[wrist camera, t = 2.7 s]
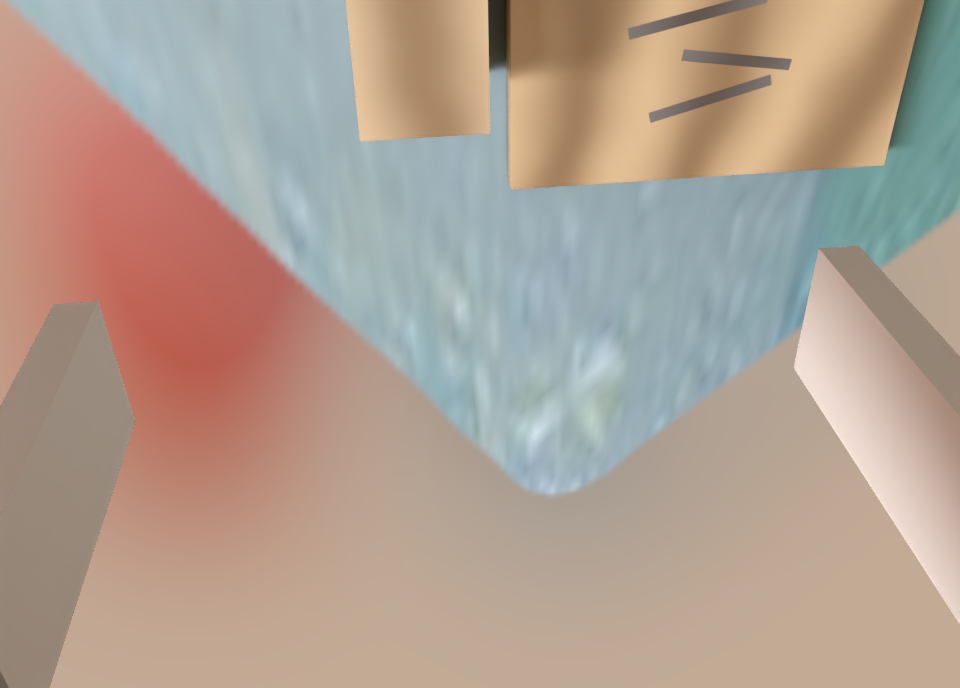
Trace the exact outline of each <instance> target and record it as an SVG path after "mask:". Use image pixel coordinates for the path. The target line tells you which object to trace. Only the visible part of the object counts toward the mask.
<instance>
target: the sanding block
mask: <svg viewBox="0 0 960 688" xmlns="http://www.w3.org/2000/svg"><path fill="white" fill-rule="evenodd" d="M346 10H347V19H348V29H349V39H350V49H351V58H352V68H353V78H354V88H355V97H356V107H357V117H358V126H359V136H360V141H373V140H390V139H407V138H423V137H440V136H457V135H473V134H490V96H489V36H488V0H346Z"/></svg>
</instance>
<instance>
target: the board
mask: <svg viewBox="0 0 960 688" xmlns="http://www.w3.org/2000/svg"><path fill="white" fill-rule="evenodd" d="M923 4H924V0H506V49H507V177H508V180H509V183H510V187H511V189H525V188H541V187H556V186H571V185H587V184H602V183H617V182H633V181H648V180H663V179H679V178H694V177H709V176H725V175H740V174H755V173H771V172H786V171H801V170H817V169H832V168H847V167H863V166H878V165H884V163H885V159H886V155H887V150H888V146H889V142H890V138H891V134H892V130H893V126H894V122H895V118H896V114H897V110H898V106H899V102H900V97H901V93H902V89H903V85H904V81H905V77H906V73H907V69H908V65H909V61H910V57H911V53H912V49H913V45H914V40H915V36H916V32H917V28H918V24H919V20H920V16H921V12H922V8H923Z"/></svg>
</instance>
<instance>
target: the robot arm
mask: <svg viewBox="0 0 960 688" xmlns="http://www.w3.org/2000/svg"><path fill="white" fill-rule="evenodd" d="M794 369H795V370H796V372H797V374H798V375H799V377H800V378H801V380H802V381H803V383H804V384H805V386H806V387H807V389H808V390H809V392H810V394H811V395H812V397H813V398H814V400H815V401H816V403H817V404H818V406H819V408H820V409H821V410H822V412H823V414H824V415H825V417H826V418H827V420H828V421H829V423H830V425H831V426H832V428H833V429H834V431H835V432H836V434H837V435H838V437H839V438H840V440H841V442H842V443H843V445H844V446H845V448H846V449H847V451H848V452H849V454H850V455H851V457H852V459H853V460H854V462H855V463H856V465H857V466H858V468H859V469H860V471H861V472H862V474H863V475H864V477H865V479H866V480H867V482H868V483H869V485H870V486H871V488H872V489H873V491H874V492H875V494H876V495H877V497H878V498H879V500H880V502H881V503H882V505H883V506H884V508H885V509H886V511H887V512H888V514H889V516H890V517H891V519H892V520H893V522H894V523H895V525H896V527H897V528H898V530H899V531H900V533H901V534H902V535H903V537H904V539H905V540H906V542H907V544H908V545H909V547H910V548H911V550H912V551H913V553H914V554H915V556H916V557H917V559H918V561H919V562H920V564H921V565H922V567H923V568H924V570H925V571H926V573H927V574H928V576H929V577H930V579H931V581H932V582H933V584H934V585H935V587H936V588H937V590H938V591H939V593H940V595H941V596H942V598H943V599H944V601H945V602H946V604H947V605H948V607H949V608H950V610H951V611H952V613H953V615H954V616H955V618H956V619H957V621H958V622H959V624H960V356H959V355H958V354H957V353H956V352H955V350H954V349H953V348H952V347H951V346H950V345H949V344H948V343H947V342H946V341H945V339H944V338H943V337H942V336H941V335H940V334H939V333H938V332H937V331H936V330H935V329H934V328H933V326H932V325H931V324H930V323H929V322H928V321H927V320H926V319H925V318H924V317H923V316H922V314H921V313H920V312H919V311H918V310H917V309H916V308H915V307H914V306H913V305H912V303H911V302H910V301H909V300H908V299H907V298H906V297H905V296H904V295H903V294H902V292H900V290H899V289H898V288H897V287H896V286H895V285H894V284H893V283H892V282H891V280H890V279H889V278H888V277H887V276H886V275H885V274H884V273H883V272H882V271H881V270H880V268H879V267H878V266H877V265H876V264H875V263H874V262H873V261H872V260H871V259H870V257H869V256H868V255H867V254H866V253H865V252H864V251H863V250H862V249H861V248H860V247H859V246H846V247H833V248H819V250H818V255H817V260H816V265H815V269H814V274H813V279H812V284H811V288H810V293H809V298H808V303H807V307H806V312H805V317H804V322H803V326H802V331H801V336H800V341H799V346H798V350H797V355H796V360H795V365H794ZM134 425H135V419H134V416H133V413H132V409H131V406H130V403H129V399H128V396H127V393H126V390H125V386H124V383H123V380H122V377H121V373H120V370H119V367H118V364H117V361H116V358H115V354H114V351H113V348H112V344H111V342H110V338H109V335H108V332H107V328H106V325H105V322H104V318H103V315H102V312H101V309H100V306H99V303H98V301H94V302H80V303H67V304H54V305H53V307H52V308H51V310H50V312H49V314H48V316H47V318H46V320H45V322H44V324H43V326H42V328H41V330H40V332H39V333H38V335H37V337H36V339H35V341H34V343H33V345H32V347H31V348H30V350H29V353H28V354H27V356H26V358H25V360H24V362H23V364H22V366H21V368H20V370H19V372H18V373H17V375H16V377H15V379H14V381H13V383H12V385H11V387H10V388H9V390H8V392H7V394H6V396H5V398H4V400H3V402H2V404H1V406H0V688H49V687H50V684H51V681H52V678H53V675H54V672H55V668H56V666H57V662H58V659H59V656H60V653H61V650H62V647H63V644H64V641H65V638H66V634H67V631H68V628H69V625H70V622H71V619H72V616H73V613H74V610H75V607H76V604H77V601H78V597H79V595H80V591H81V588H82V585H83V582H84V579H85V576H86V572H87V570H88V567H89V563H90V560H91V557H92V554H93V551H94V548H95V545H96V542H97V539H98V536H99V533H100V529H101V526H102V524H103V520H104V517H105V514H106V511H107V508H108V505H109V502H110V499H111V496H112V493H113V490H114V486H115V483H116V480H117V477H118V474H119V471H120V468H121V465H122V462H123V459H124V455H125V452H126V449H127V446H128V443H129V440H130V437H131V434H132V431H133V428H134Z"/></svg>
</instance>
